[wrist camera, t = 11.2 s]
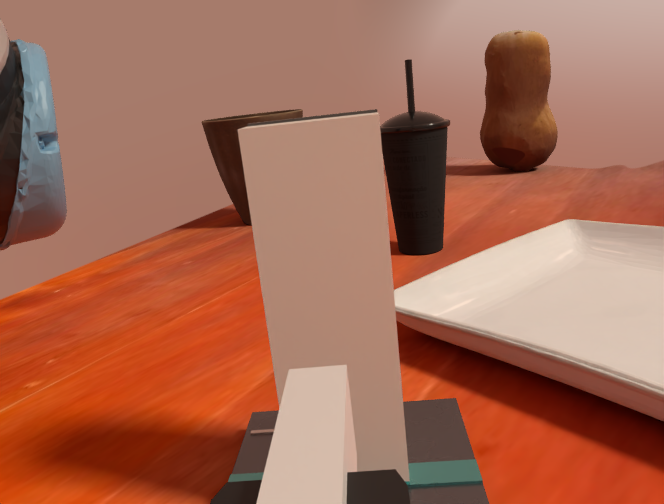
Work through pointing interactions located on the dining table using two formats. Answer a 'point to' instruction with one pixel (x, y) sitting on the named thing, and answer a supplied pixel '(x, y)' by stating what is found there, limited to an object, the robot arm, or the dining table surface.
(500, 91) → the butternut squash
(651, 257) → the square plate
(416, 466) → the dark grey marked board
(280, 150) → the fader tab
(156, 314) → the dining table surface
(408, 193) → the drinking cup
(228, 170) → the plant pot
